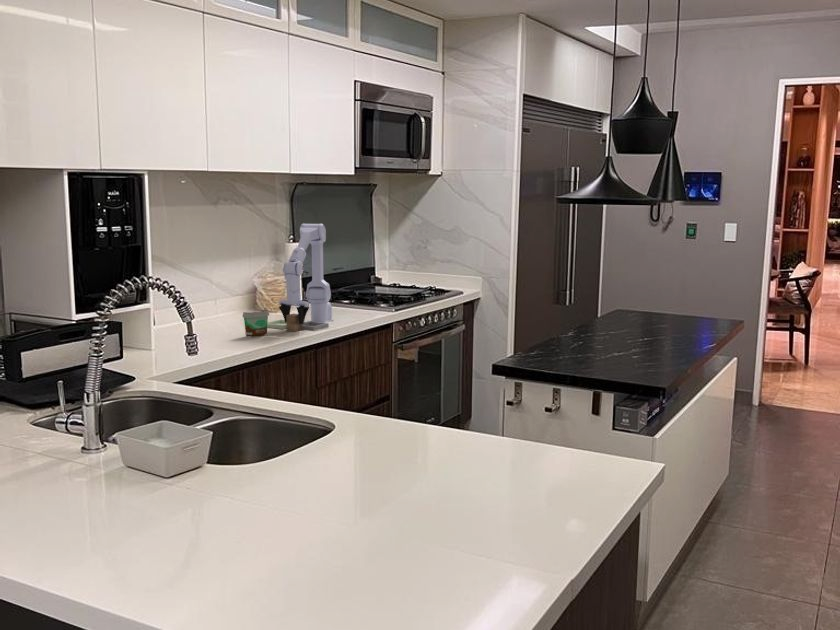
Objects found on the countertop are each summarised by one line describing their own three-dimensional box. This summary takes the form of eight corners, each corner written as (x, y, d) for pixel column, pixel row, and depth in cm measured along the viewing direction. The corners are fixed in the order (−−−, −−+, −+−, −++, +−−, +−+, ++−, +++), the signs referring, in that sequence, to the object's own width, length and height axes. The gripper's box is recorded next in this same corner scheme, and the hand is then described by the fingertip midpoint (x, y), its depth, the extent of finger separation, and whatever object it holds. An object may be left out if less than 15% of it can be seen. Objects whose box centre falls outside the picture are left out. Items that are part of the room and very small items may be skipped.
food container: (253, 338, 331) (252, 313, 330) (243, 336, 335) (242, 312, 334) (276, 333, 341) (275, 309, 340) (266, 332, 345) (265, 308, 343)
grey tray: (309, 326, 359) (309, 321, 359) (328, 327, 354) (328, 323, 354) (295, 329, 351) (295, 324, 351) (314, 331, 346) (313, 326, 346)
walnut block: (294, 328, 349) (293, 313, 348) (302, 329, 346) (301, 314, 345) (286, 330, 345) (286, 315, 344) (295, 331, 343) (294, 315, 342)
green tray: (280, 323, 366) (280, 319, 365) (302, 326, 360) (302, 321, 359) (262, 327, 355) (262, 323, 355) (284, 330, 349) (284, 325, 349)
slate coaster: (293, 329, 350) (293, 328, 350) (304, 331, 347) (304, 329, 347) (284, 332, 345) (284, 330, 345) (295, 333, 342) (295, 331, 342)
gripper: (273, 290, 344) (274, 323, 346) (301, 292, 336) (302, 325, 338) (284, 288, 350) (285, 320, 352) (311, 290, 342) (312, 323, 344)
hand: (294, 323), depth 345 cm, fingers open, 7 cm apart
